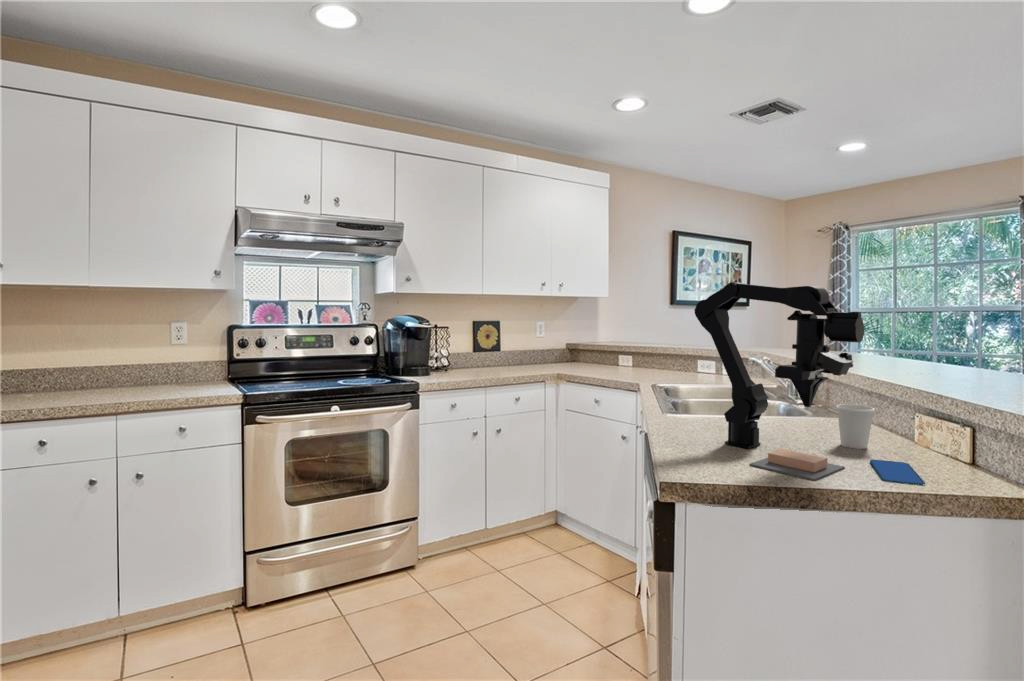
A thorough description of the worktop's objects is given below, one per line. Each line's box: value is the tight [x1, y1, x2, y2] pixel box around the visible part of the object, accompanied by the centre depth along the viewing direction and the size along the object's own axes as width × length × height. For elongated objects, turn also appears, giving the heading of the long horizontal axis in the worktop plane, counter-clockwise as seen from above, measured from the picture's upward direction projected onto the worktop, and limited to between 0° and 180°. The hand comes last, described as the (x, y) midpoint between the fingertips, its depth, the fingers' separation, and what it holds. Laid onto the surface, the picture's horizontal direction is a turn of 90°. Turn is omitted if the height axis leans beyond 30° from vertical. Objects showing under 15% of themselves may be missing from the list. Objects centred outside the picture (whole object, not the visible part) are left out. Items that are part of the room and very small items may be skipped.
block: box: [767, 448, 828, 472], centre depth 122 cm, size 10×2×6 cm
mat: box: [749, 457, 846, 482], centre depth 122 cm, size 14×14×1 cm
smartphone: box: [869, 459, 926, 486], centre depth 117 cm, size 7×1×15 cm
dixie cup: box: [835, 403, 876, 450], centre depth 140 cm, size 8×8×10 cm
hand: (807, 406), depth 129 cm, fingers closed
